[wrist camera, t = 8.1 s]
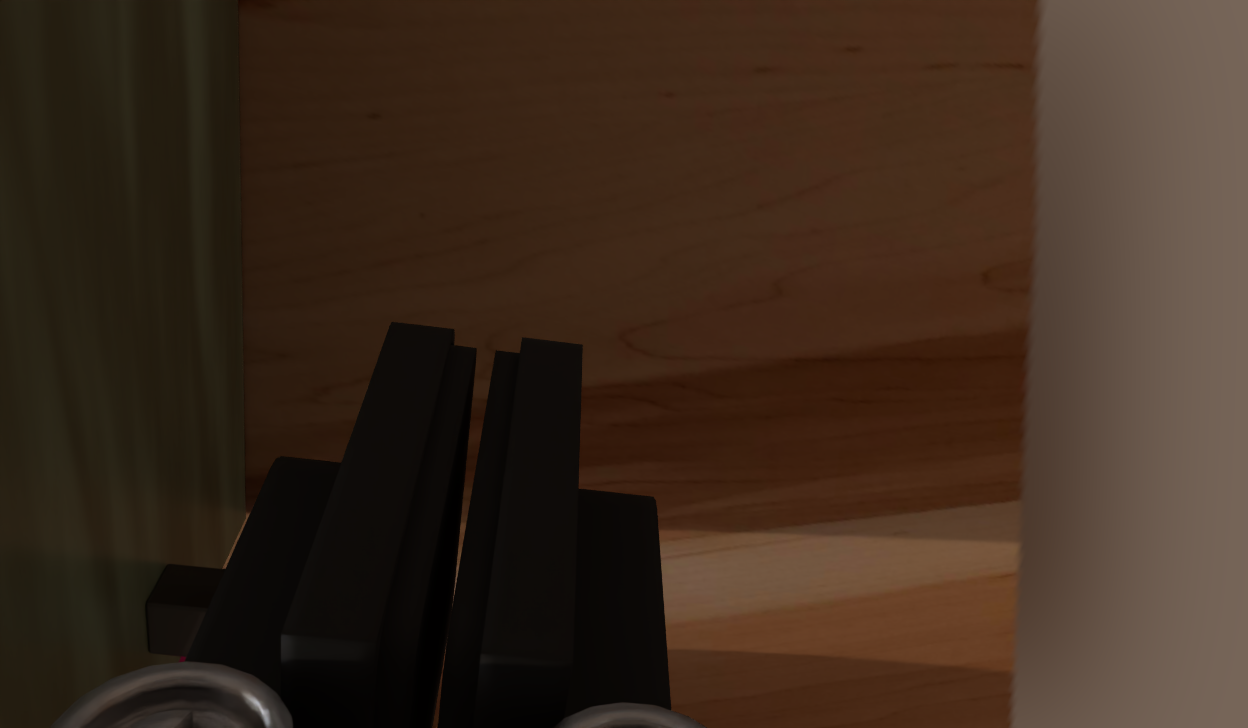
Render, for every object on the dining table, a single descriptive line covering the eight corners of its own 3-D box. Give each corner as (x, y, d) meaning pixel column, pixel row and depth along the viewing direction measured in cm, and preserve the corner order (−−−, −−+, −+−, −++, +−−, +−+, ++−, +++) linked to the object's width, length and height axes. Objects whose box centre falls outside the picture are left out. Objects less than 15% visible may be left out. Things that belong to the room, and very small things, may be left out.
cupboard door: (482, -453, 25) (-223, -1536, 4) (414, 536, 37) (158, 1588, 16) (183, -503, 25) (-2552, -2080, 3) (214, 515, 37) (-322, 1570, 16)
